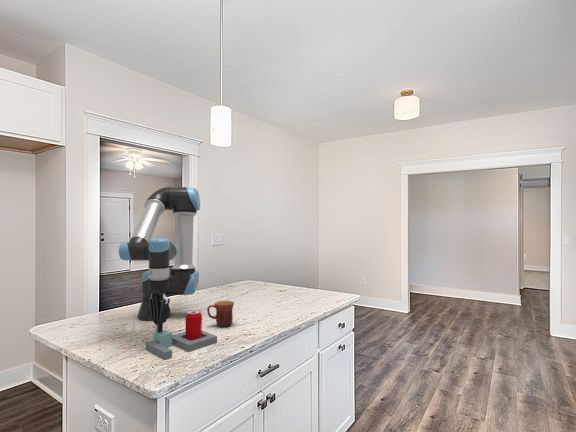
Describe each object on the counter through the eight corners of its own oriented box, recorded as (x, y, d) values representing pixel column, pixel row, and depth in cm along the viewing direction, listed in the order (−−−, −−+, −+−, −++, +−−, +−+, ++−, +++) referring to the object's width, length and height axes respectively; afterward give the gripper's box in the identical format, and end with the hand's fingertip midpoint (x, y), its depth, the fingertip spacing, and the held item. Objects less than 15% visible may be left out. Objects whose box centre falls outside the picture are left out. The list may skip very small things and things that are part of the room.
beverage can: (203, 339, 136) (203, 309, 136) (199, 345, 130) (200, 313, 130) (187, 339, 136) (188, 309, 136) (183, 345, 130) (183, 313, 130)
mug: (232, 321, 159) (233, 300, 160) (235, 327, 151) (235, 304, 151) (206, 323, 156) (206, 301, 156) (207, 329, 148) (207, 306, 148)
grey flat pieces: (145, 349, 125) (145, 342, 125) (196, 334, 142) (196, 328, 142) (164, 359, 116) (164, 352, 116) (217, 342, 133) (217, 336, 133)
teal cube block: (153, 346, 128) (153, 333, 128) (165, 342, 132) (165, 329, 132) (159, 349, 125) (159, 336, 125) (172, 345, 129) (172, 332, 129)
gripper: (141, 277, 133) (140, 338, 132) (158, 282, 124) (157, 346, 124) (159, 275, 138) (159, 333, 138) (176, 279, 130) (176, 341, 129)
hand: (158, 339), depth 131 cm, fingers closed
